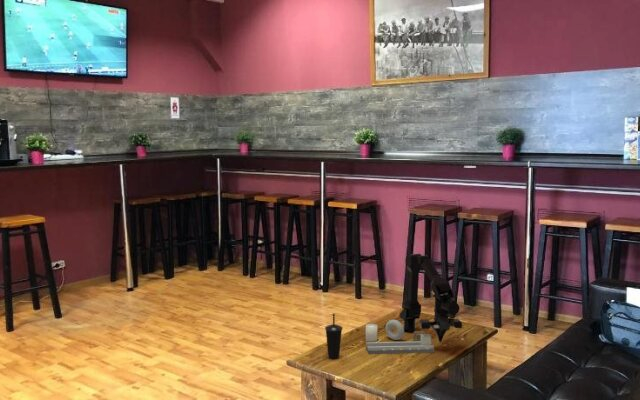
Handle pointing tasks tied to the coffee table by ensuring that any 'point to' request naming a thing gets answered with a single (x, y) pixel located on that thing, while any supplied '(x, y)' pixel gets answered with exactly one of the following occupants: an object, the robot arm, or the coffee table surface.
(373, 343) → the rail
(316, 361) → the coffee table surface
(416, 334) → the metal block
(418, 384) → the coffee table surface
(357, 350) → the coffee table surface
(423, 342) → the tally marker
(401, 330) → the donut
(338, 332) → the drinking cup
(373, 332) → the white rounded cylinder
